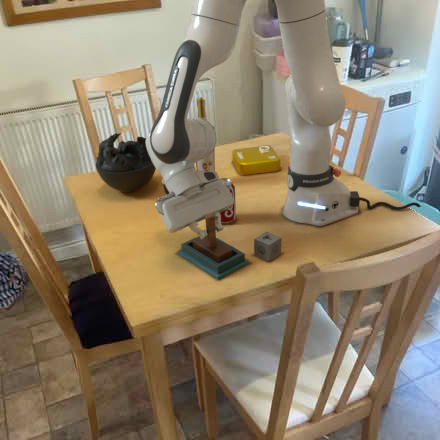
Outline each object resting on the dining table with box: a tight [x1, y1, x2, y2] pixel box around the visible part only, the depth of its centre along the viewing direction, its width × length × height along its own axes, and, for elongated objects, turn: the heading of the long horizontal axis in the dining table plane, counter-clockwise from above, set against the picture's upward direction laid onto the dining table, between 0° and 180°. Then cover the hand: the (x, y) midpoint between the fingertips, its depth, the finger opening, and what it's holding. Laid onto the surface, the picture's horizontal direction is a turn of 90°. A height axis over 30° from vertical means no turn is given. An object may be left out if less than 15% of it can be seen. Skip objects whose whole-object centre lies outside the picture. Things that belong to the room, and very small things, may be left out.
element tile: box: [231, 145, 281, 176], centre depth 177 cm, size 15×15×5 cm
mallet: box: [192, 213, 233, 264], centre depth 126 cm, size 11×4×12 cm, turn 40°
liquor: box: [195, 96, 216, 172], centre depth 160 cm, size 7×7×28 cm
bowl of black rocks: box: [95, 132, 157, 193], centre depth 162 cm, size 20×20×19 cm
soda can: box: [217, 177, 237, 224], centre depth 143 cm, size 7×7×12 cm
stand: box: [177, 235, 250, 280], centre depth 129 cm, size 17×11×3 cm, turn 40°
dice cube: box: [253, 231, 283, 262], centre depth 129 cm, size 5×5×5 cm
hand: (212, 234), depth 125 cm, fingers open, 4 cm apart
